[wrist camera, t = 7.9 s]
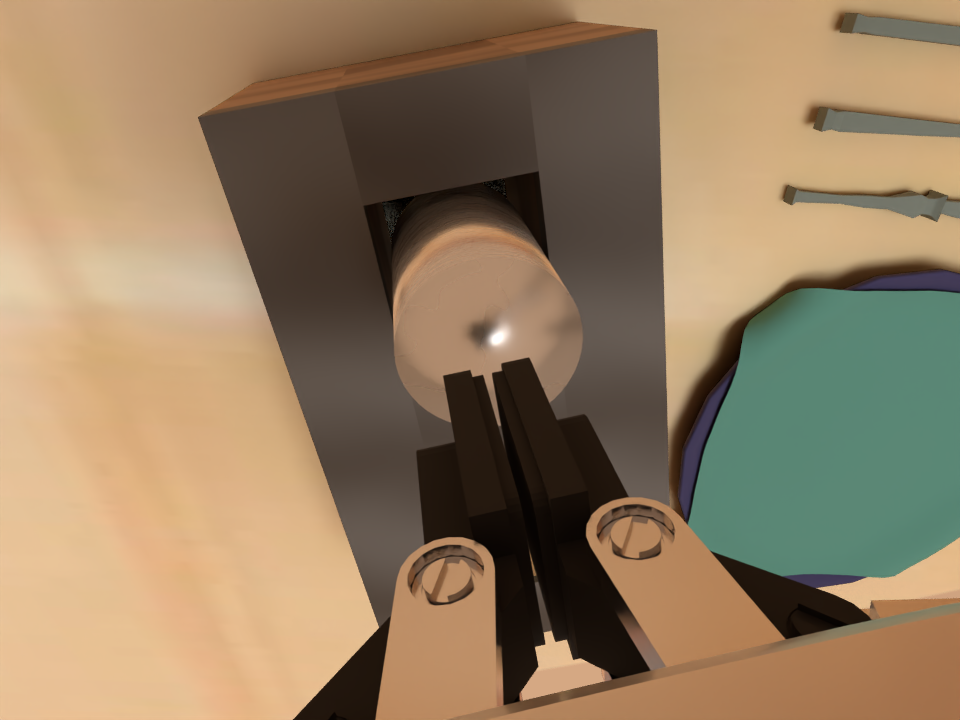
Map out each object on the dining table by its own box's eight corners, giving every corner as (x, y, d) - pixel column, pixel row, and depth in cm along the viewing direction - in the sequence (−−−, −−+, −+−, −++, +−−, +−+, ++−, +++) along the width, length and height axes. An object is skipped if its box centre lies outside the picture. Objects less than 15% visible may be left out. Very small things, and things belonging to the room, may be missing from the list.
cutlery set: (631, 570, 39) (644, 601, 37) (791, -13, 25) (827, -14, 23) (928, 562, 42) (956, 590, 40) (1218, 41, 28) (1283, 44, 26)
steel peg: (376, 195, 20) (373, 279, 14) (517, 168, 20) (573, 239, 14) (407, 322, 22) (415, 443, 16) (534, 297, 23) (590, 407, 16)
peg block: (253, 83, 24) (198, 117, 17) (578, 21, 24) (657, 30, 17) (391, 531, 34) (392, 665, 28) (614, 483, 35) (672, 604, 28)
